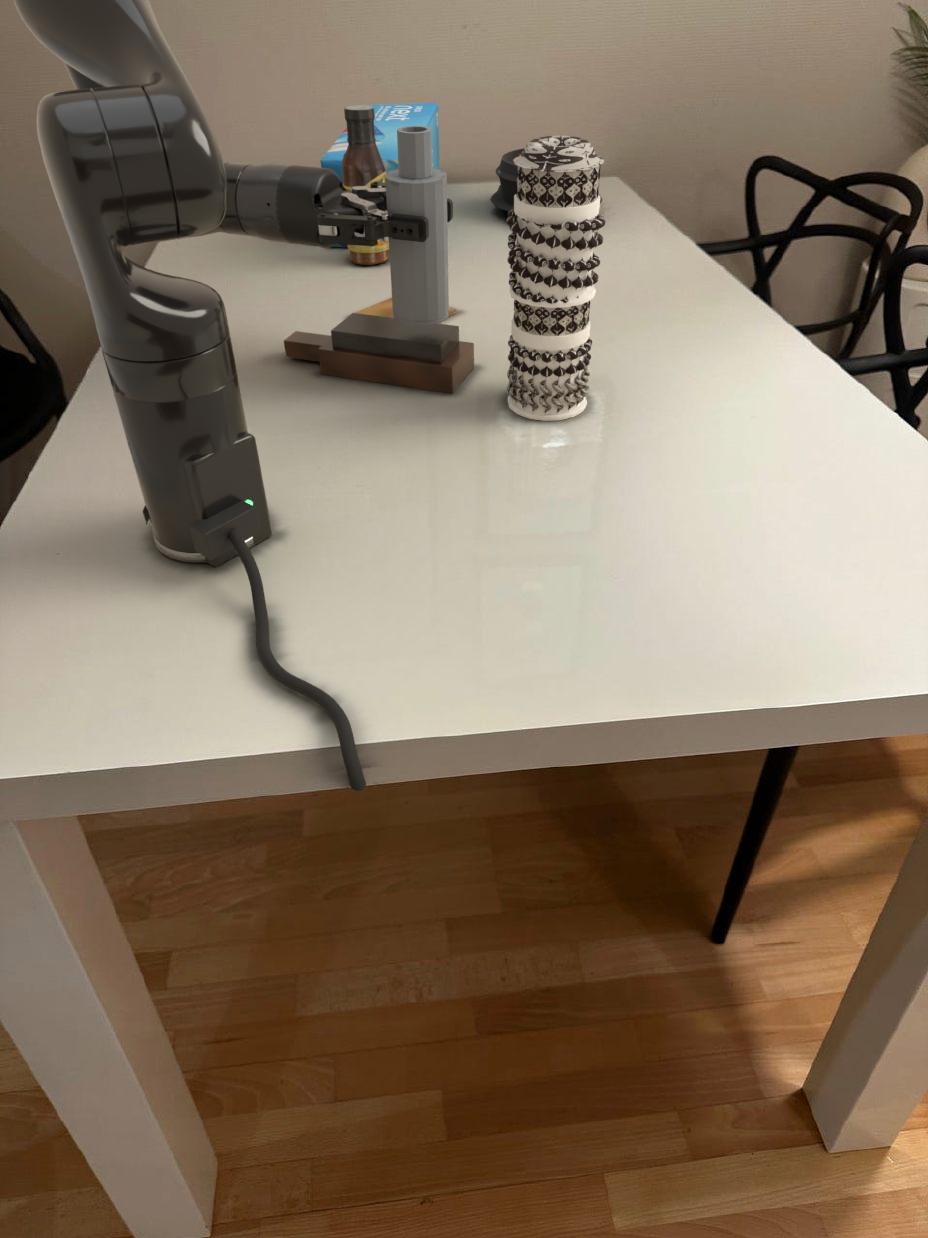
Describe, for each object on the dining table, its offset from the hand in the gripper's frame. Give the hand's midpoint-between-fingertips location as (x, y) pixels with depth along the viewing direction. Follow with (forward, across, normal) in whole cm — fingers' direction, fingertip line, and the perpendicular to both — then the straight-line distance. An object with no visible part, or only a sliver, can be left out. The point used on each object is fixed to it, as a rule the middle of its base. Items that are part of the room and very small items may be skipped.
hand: (439, 219), depth 90 cm
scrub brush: (-8, 0, +17) cm, 19 cm away
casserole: (-7, +66, +17) cm, 69 cm away
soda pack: (-32, +58, +18) cm, 69 cm away
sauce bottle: (-25, +35, +17) cm, 46 cm away
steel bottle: (-2, 0, +10) cm, 10 cm away
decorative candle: (+13, -2, +17) cm, 21 cm away
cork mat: (-11, +16, +17) cm, 26 cm away
